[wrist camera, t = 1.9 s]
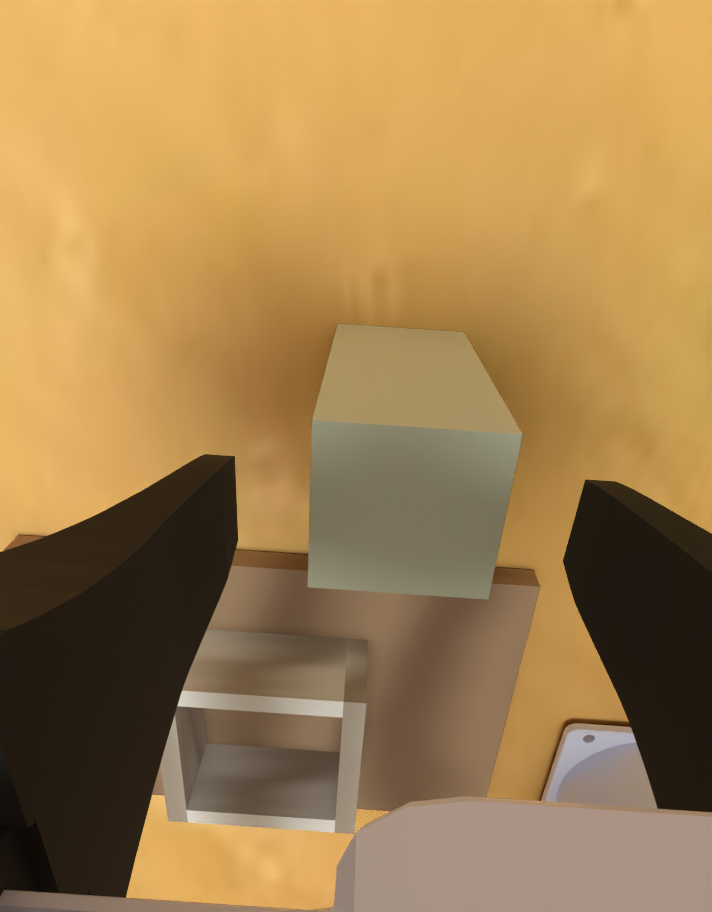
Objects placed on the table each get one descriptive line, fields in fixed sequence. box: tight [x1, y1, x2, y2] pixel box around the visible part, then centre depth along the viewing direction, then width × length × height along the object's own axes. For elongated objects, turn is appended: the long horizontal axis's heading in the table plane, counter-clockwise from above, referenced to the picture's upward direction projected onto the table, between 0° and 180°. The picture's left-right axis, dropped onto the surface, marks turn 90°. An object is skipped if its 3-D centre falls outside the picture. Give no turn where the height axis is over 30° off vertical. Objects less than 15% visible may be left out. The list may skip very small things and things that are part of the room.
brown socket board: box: [4, 535, 540, 834], centre depth 23 cm, size 20×14×4 cm
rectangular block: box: [308, 324, 523, 600], centre depth 15 cm, size 4×4×8 cm
